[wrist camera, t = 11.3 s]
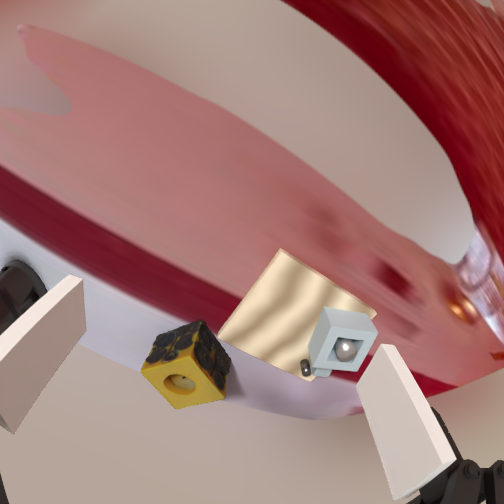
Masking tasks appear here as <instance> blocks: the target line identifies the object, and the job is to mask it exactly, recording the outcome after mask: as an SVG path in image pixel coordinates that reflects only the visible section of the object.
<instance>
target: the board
mask: <svg viewBox="0 0 504 504" xmlns="http://www.w3.org/2000/svg"><path fill="white" fill-rule="evenodd" d="M323 307H330V308H335V309H341V310H347V311H352V312H358V313H364V314H367V315H368V317H369V318H370V320H372V319H373V318H374V316H375V315H376V314H377V313H376V312H375V310H374V309H373V308H372V307H370V306H369V305H367V304H366V303H364V302H363V301H361V300H360V299H358V298H357V297H355V296H354V295H352V294H351V293H349V292H347V291H346V290H344V289H343V288H341V287H340V286H338V285H337V284H335V283H334V282H332V281H331V280H329V279H328V278H326V277H325V276H323V275H322V274H320V273H319V272H317V271H315V270H314V269H312V268H311V267H309V266H308V265H306V264H305V263H303V262H302V261H300V260H298V259H297V258H295V257H294V256H292V255H291V254H289V253H288V252H286V251H285V250H283V249H281V248H280V249H279V251H278V252H277V254H276V255H275V256H274V258H273V259H272V260H271V262H270V263H269V265H268V266H267V267H266V269H265V270H264V271H263V273H262V274H261V275H260V277H259V278H258V280H257V281H256V282H255V284H254V285H253V286H252V288H251V289H250V290H249V292H248V293H247V294H246V296H245V297H244V298H243V300H242V301H241V302H240V304H239V305H238V306H237V308H236V309H235V310H234V312H233V313H232V314H231V316H230V317H229V318H228V320H227V321H226V322H225V324H224V325H223V326H222V328H221V329H220V330H219V332H218V336H217V338H219V339H221V340H222V341H224V342H226V343H228V344H230V345H232V346H234V347H236V348H238V349H240V350H242V351H244V352H246V353H248V354H250V355H252V356H254V357H256V358H258V359H260V360H263V361H265V362H267V363H269V364H271V365H273V366H275V367H278V368H280V369H282V370H284V371H286V372H289V373H291V374H293V375H295V376H298V377H300V378H302V379H305V380H307V381H309V382H311V381H312V380H313V379H314V378H315V377H317V376H313V374H312V370H311V375H310V376H308V377H304V376H303V375H302V371H301V365H300V361H301V360H303V359H308V360H309V364H310V368H312V363H311V358H310V354H309V350H308V343H309V341H310V339H311V336H312V334H313V331H314V329H315V327H316V324H317V322H318V319H319V317H320V314H321V312H322V309H323Z"/></svg>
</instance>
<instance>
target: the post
mask: <svg viewBox="0 0 504 504" xmlns="http://www.w3.org/2000/svg"><path fill="white" fill-rule="evenodd" d="M334 347H335V350H336V353H337V356H338V358H339V360H340V361H342V362H348V361H351V360H352V359H354V358H355V357H356V355H357V349H356V347H355V345H354V343H353V341H352V339H348V338H341V337H338V338H337V340H336V342H335V344H334Z"/></svg>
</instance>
